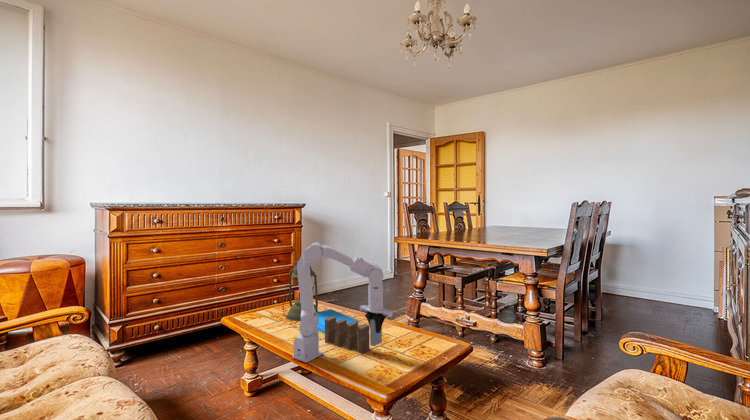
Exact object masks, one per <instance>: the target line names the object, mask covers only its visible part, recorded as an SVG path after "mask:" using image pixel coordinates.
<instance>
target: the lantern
mask: <svg viewBox="0 0 750 420" xmlns="http://www.w3.org/2000/svg"><path fill="white" fill-rule="evenodd" d="M298 261H299V259H295V260H294V261H293V263H295V265H294V267H293V268H291V270H290V271H289V272H288V273H289V275H288V279H287V283H286V285H285V286H286V288H285V290H284V291H285V292H284V294H286V293H287V287H289V288H288V301H289V302H288V303H289V308H290V309H289V310H288V312H287V314H285V310H284V308H285V305H284V304H285V301H283V304H282V311H283V315H284V318H286V319H287V320H289V321H295V322H296V321H297V322H299V321H300V322H301V302H300V296H299V297H297V296H296V295H295V294H294V293H293V291H294V288H292V282H293V280H294V281H295V282H298V273H297V263H298ZM312 268H313V267H312V265H311V266H310V274H311V277H313V280H314V282H313V286H312V292H313V291H314V290H315V291H314V294H315V304H314V308H315V311H316V312H319V309H318V308H319V307H318V306H319V298H318V297H319V296H318V293H319V292H318V280H317V277H318V275H316V272H315V271H314V270H313V269H312ZM292 279H293V280H292ZM288 283H289V285H288ZM292 294H293V295H294V297H296V299H295V300H294V301H293V302H292ZM285 298H286V295H284V296H283V300H285Z"/></svg>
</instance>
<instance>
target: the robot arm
mask: <svg viewBox="0 0 750 420" xmlns="http://www.w3.org/2000/svg"><path fill="white" fill-rule="evenodd" d="M321 258H322V260H327V259H332V260H334V261H337V262H339V263H342V264H344V265H346V266H348V267H349V269H350V271H351V272H353V273H356V274H357V275H359V276H361V277H364V278H368V286H367V289H368V290H367V292H368V296H367V297H368V303H367V304H368V305H367V304H361V305H360V306H359V311H360V312H366V313H365V314H364V316H365V318H366V320H367V322H368V325H369V326H370V320H371V319H373V318H375V322H376V333H379V332H381V328H382V327H383V324H384V321H385V320H386V317H387V318H388V317H389V318H392V317H393V315H394V314H393V312H394V311H393V310H390V309H387V308H385V307H384V286H383V282H384V281H383V280H384V274H383V273H384V272H383V270H382V268H381V266H379V265H377V264H375V263H373V262H368V261H366V260H364V258H363V257H355V258H353V257H350V256H348V255H346V254H345V253H343V252H341V251H339V250H337V249H336V248H333V247H331V246H329V245H327V244H322V243H321V242H318V241H315V242H313V243H311V244H310V245H309V246H307V247H306V248H305V249H304V250H303V251H302V253H301V256H300V257H299V259H298V260H299V261H298V263H297V273H298V281H297V284H298V291H299V299H300V302H301V321H300V322H299V325H298V329H299V335H298V336H297V337H295V338H294V340H293V355H292V357H291V358H293V359H296V360H298V361H301V362H304V363H309V362H310V361H313V360H315V359H317V358H318V357H321V356H323V355H324V354H325V353H324V352H322V351H320V349H319V348H320V347H319V346H320V345H319V344H320V342H319V338H320V337H319V332H320V331H319V330H318V329H317V327H316V326H317V324H318V322H319V318H318V316H317V314H316V311H315V308H314V294H313V291H312V289H313V286H312V284H313V283H312V276H311V274H310V266H311V267H312V265H313V264H314V263H315V262H317V261H320V259H321Z"/></svg>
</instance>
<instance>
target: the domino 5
mask: <svg viewBox="0 0 750 420" xmlns="http://www.w3.org/2000/svg"><path fill="white" fill-rule="evenodd" d="M382 339H383V331H382V328H381V332H379V333H376V322H375V318H373V319H371V320H370V325H369V346H372V347H376V346H378V345H379V344H381V343H383V341H382Z"/></svg>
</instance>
